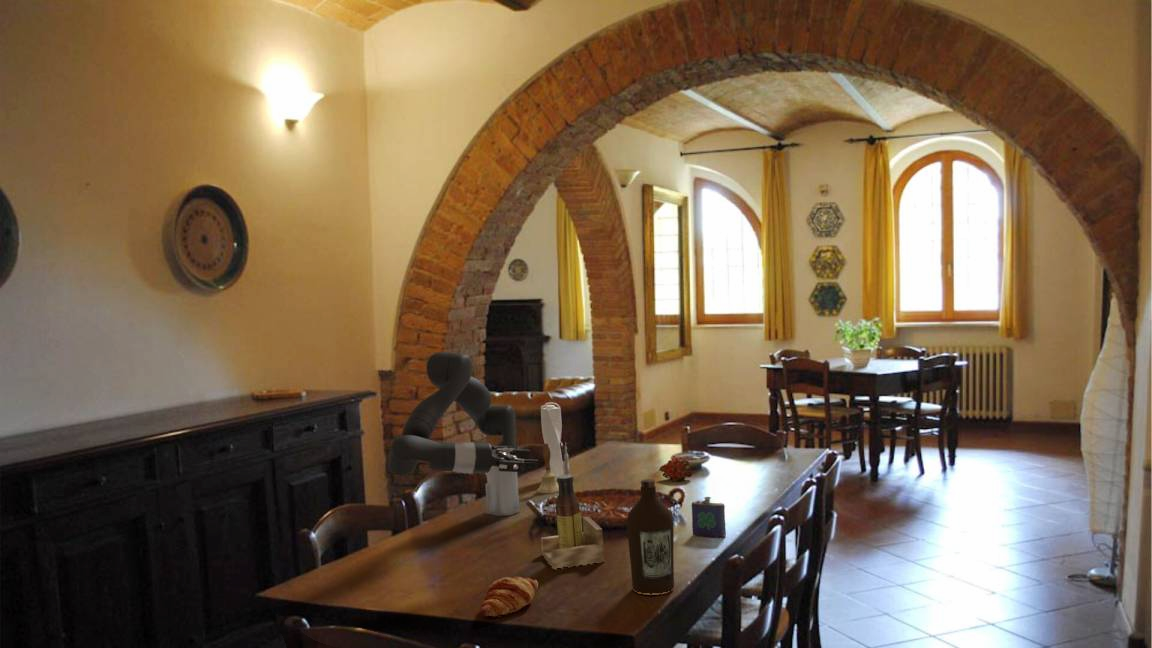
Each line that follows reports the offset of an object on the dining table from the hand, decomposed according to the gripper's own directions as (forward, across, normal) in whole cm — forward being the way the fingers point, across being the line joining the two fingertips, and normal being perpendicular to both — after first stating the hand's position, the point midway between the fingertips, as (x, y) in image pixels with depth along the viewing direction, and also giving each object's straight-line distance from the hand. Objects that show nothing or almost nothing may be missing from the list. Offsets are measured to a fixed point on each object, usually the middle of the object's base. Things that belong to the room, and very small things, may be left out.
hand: (533, 459), depth 234 cm
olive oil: (+21, -35, +19) cm, 45 cm away
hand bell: (+28, +68, +31) cm, 80 cm away
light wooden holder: (+12, -5, +24) cm, 28 cm away
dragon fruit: (+70, +60, +24) cm, 95 cm away
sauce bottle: (+12, -5, +23) cm, 26 cm away
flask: (+50, -4, +19) cm, 54 cm away
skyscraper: (+34, +82, +32) cm, 95 cm away
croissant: (-10, -31, +25) cm, 41 cm away
